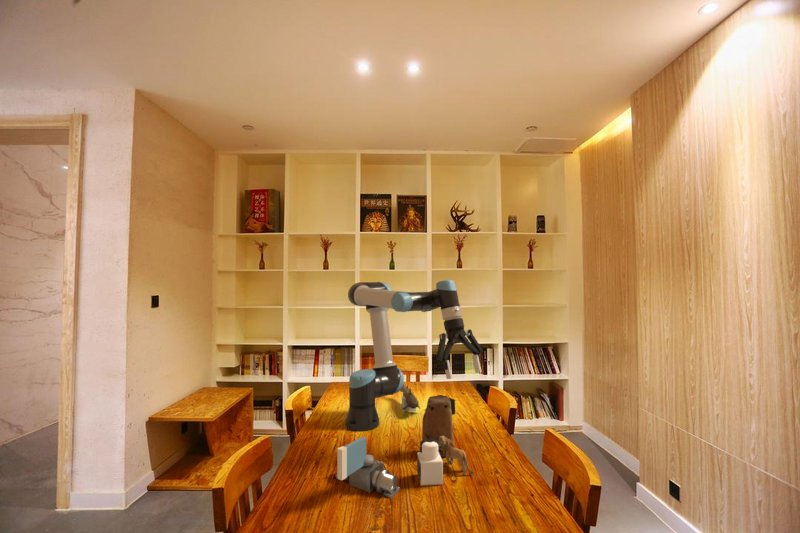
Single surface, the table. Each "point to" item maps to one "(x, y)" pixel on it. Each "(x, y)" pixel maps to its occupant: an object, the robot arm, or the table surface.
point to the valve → (374, 479)
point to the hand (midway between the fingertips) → (464, 375)
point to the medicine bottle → (429, 463)
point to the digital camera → (451, 404)
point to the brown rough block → (438, 419)
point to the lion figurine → (453, 453)
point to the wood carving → (408, 399)
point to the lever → (352, 458)
